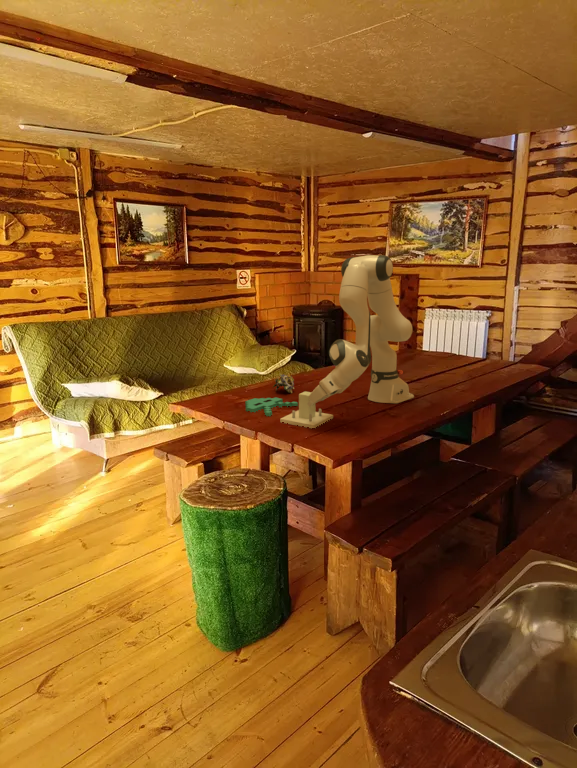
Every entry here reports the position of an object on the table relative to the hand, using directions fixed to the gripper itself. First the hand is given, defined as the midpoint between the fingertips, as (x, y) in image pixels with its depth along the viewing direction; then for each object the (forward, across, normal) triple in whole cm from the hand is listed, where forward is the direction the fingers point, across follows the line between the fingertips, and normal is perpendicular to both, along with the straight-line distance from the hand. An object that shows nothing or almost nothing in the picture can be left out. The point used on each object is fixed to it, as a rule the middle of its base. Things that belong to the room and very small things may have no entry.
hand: (315, 402), depth 225 cm
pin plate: (+9, 0, +3) cm, 9 cm away
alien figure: (+27, -7, -14) cm, 31 cm away
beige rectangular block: (+8, 0, +2) cm, 8 cm away
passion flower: (+32, -32, -20) cm, 50 cm away
